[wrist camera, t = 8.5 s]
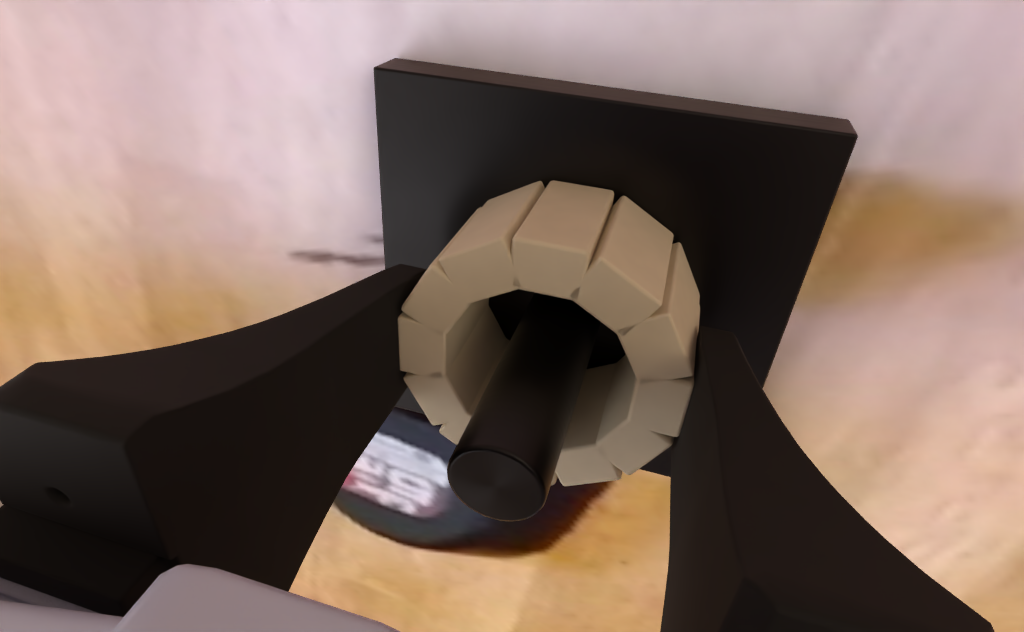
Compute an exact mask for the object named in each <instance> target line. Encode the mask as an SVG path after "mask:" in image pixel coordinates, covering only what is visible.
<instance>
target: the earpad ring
mask: <svg viewBox="0 0 1024 632" xmlns="http://www.w3.org/2000/svg"><path fill="white" fill-rule="evenodd" d="M613 200H614V192H613V191H612V190H608V189H602V188H596V187H590V186H584V185H578V184H572V183H566V182H560V181H554V180H553V181H550V182H549V184H548V185H547V187H546V188H545V187H544V185H543V183H542V181H537V182H535V183H532V184H529V185H527V186H524V187H521V188H519V189H516V190H513V191H511V192H508V193H506V194H503V195H500V196H498V197H495V198H492V199H490V200H488V201H487V202H486V203H485V204H484V205H483V207H480V208H478V209H477V210H476V211H475V212H474V214H473V215H472V216H471V217H470V218H469V220H468V221H467V222H466V223H465V224H464V225H463V227H462V228H461V229H460V230H459V231H458V233H457V234H456V235H455V236H454V237H453V238H452V240H451V241H450V242H449V243H448V244H447V246H446V247H445V248H444V249H443V250H442V251H441V253H440V254H439V255H438V256H437V257H436V259H435V260H434V261H433V262H432V263H431V265H430V266H429V267H428V269H427V270H426V272H425V273H424V274H423V276H422V277H421V279H420V280H419V282H418V283H417V285H416V286H415V287H414V289H413V290H412V292H411V293H410V295H409V296H408V298H407V299H406V300H405V302H404V303H403V305H402V308H401V310H402V311H403V312H402V314H401V315H400V316H399V317H398V340H399V361H400V370H401V371H404V372H407V373H406V375H405V376H404V381H405V383H406V384H407V386H408V387H409V389H410V391H411V392H412V394H413V395H414V397H415V399H416V400H417V402H418V403H419V405H420V406H421V408H422V410H423V411H424V413H425V414H426V416H427V418H428V419H429V421H430V422H431V424H432V425H439V424H443V425H442V427H441V428H440V433H441V434H442V435H443V436H445V437H446V438H448V439H449V440H450V441H452V442H453V443H455V444H456V445H457V444H458V442H459V440H460V438H461V436H462V434H463V432H464V430H465V428H466V427H467V425H468V423H469V421H470V419H471V417H472V415H473V413H474V411H475V409H476V407H477V405H478V403H479V401H480V399H481V397H482V395H483V393H484V391H485V389H486V387H487V385H488V383H489V381H490V379H491V377H492V375H493V373H494V371H495V369H496V367H497V366H498V364H499V362H500V360H501V358H502V356H503V354H504V352H505V350H506V348H507V346H508V344H509V342H510V340H508V339H507V338H506V337H505V335H504V333H503V331H502V329H501V328H500V326H499V324H498V322H497V320H496V318H495V316H494V314H493V312H492V311H491V309H490V307H489V298H490V297H493V296H497V295H500V294H504V293H507V292H510V291H514V290H517V289H520V290H525V291H530V292H535V293H539V294H544V295H549V296H554V297H559V298H564V299H568V300H573V301H574V302H575V303H577V304H578V305H579V306H581V307H582V308H583V309H584V310H586V311H587V312H588V313H590V314H591V315H592V316H594V317H595V318H596V319H598V320H599V321H600V322H602V323H603V324H604V325H606V326H607V327H608V328H610V329H611V330H612V331H614V332H615V333H616V334H617V335H618V338H619V340H620V342H621V344H622V347H623V349H624V351H625V353H626V355H625V356H624V357H622V358H621V359H620V360H619V361H618V362H617V363H613V364H609V365H604V366H599V367H595V368H590V369H586V372H585V376H584V379H583V382H582V385H581V388H580V392H579V395H578V398H577V401H576V405H575V408H574V411H573V414H572V418H571V421H570V424H569V427H568V430H567V434H566V437H565V440H564V443H563V447H562V450H561V453H560V456H559V459H558V463H557V466H556V469H555V472H554V476H553V479H552V482H551V485H554V484H555V483H556V480H557V477H558V478H559V480H560V481H561V483H562V485H563V486H572V485H580V484H588V483H597V482H605V481H613V480H619V479H620V478H621V475H622V471H623V472H624V473H626V474H627V475H631V474H633V473H634V472H636V471H637V470H638V469H640V468H641V467H642V466H644V465H645V464H647V463H648V462H649V461H651V460H652V459H654V458H655V457H656V456H658V455H659V454H661V453H662V452H663V451H665V450H666V449H668V448H669V447H670V446H671V445H672V444H673V439H674V437H678V436H679V435H680V432H681V428H682V425H683V422H684V418H685V415H686V411H687V408H688V405H689V401H690V398H691V395H692V391H693V388H694V368H695V354H696V341H697V335H698V332H699V318H700V305H699V300H700V294H699V291H698V288H697V285H696V283H695V280H694V277H693V275H692V272H691V269H690V267H689V264H688V261H687V258H686V256H685V253H684V250H683V248H682V245H681V243H680V242H677V243H674V244H672V243H673V237H674V235H673V233H672V232H671V231H669V230H668V229H667V228H665V227H664V226H663V225H662V224H660V223H659V222H658V221H657V220H655V219H654V218H653V217H652V216H650V215H649V214H648V213H646V212H645V211H644V210H643V209H641V208H640V207H639V206H638V205H636V204H635V203H634V202H632V201H631V200H630V199H629V198H627V197H626V196H622V197H620V198H619V200H618V201H617V202H616V203H615V204H614V205H613Z"/></svg>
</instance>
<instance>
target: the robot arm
mask: <svg viewBox="0 0 1024 632" xmlns="http://www.w3.org/2000/svg"><path fill="white" fill-rule="evenodd" d="M426 270H427V269H423V268H418V267H413V266H409V265H404V264H398V265H395V266H392V267H390V268H387V269H385V270H383V271H381V272H378V273H376V274H374V275H372V276H370V277H367V278H365V279H363V280H361V281H359V282H357V283H354V284H352V285H350V286H348V287H346V288H344V289H341V290H339V291H337V292H335V293H333V294H330V295H328V296H326V297H324V298H321V299H319V300H317V301H314V302H312V303H309V304H307V305H304V306H302V307H299V308H297V309H295V310H292V311H290V312H287V313H285V314H282V315H280V316H277V317H274V318H271V319H268V320H266V321H263V322H260V323H257V324H253V325H250V326H247V327H244V328H241V329H237V330H234V331H231V332H227V333H223V334H219V335H215V336H211V337H207V338H203V339H198V340H194V341H190V342H186V343H182V344H177V345H172V346H167V347H162V348H156V349H151V350H145V351H139V352H132V353H126V354H119V355H112V356H104V357H94V358H84V359H74V360H64V361H53V362H40V363H35V364H34V365H32V366H30V367H29V368H27V369H26V370H24V371H23V372H21V373H20V374H18V375H17V376H15V377H14V378H13V379H11V380H10V381H8V382H7V383H5V384H4V385H2V386H1V387H0V501H1V502H2V504H4V505H3V506H2V507H1V508H0V632H400V631H398V630H396V629H394V628H391V627H389V626H387V625H385V624H383V623H381V622H378V621H375V620H372V619H369V618H366V617H363V616H360V615H357V614H354V613H351V612H348V611H345V610H342V609H339V608H336V607H333V606H330V605H326V604H323V603H320V602H317V601H314V600H311V599H308V598H305V597H302V596H299V595H296V594H293V593H290V592H288V591H289V589H290V587H291V585H292V583H293V581H294V579H295V577H296V575H297V572H298V570H299V568H300V566H301V564H302V562H303V560H304V558H305V556H306V554H307V552H308V550H309V548H310V546H311V544H312V542H313V540H314V538H315V536H316V534H317V532H318V530H319V528H320V526H321V524H322V522H323V520H324V518H325V516H326V514H327V512H328V511H329V509H330V507H331V505H332V503H333V501H334V499H335V498H336V496H337V494H338V492H339V490H340V488H341V486H342V485H343V483H344V481H345V479H346V477H347V476H348V474H349V472H350V471H351V469H352V468H353V466H354V465H355V463H356V461H357V460H358V458H359V457H360V455H361V454H362V453H363V451H364V450H365V448H366V447H367V445H368V444H369V443H370V441H371V440H372V438H373V437H374V435H375V434H376V432H377V431H378V430H379V428H380V427H381V425H382V424H383V422H384V421H385V420H386V418H387V417H388V415H389V414H390V412H391V411H392V409H393V408H394V407H395V405H396V404H397V402H398V401H399V399H400V398H401V396H402V395H403V393H404V392H405V390H406V389H407V387H408V386H407V384H406V383H405V381H404V376H405V375H406V373H407V372H404V371H401V370H400V361H399V340H398V317H399V316H400V315H401V314H402V312H403V311H402V310H401V308H402V305H403V303H404V302H405V300H406V299H407V298H408V296H409V295H410V293H411V292H412V290H413V289H414V287H415V286H416V285H417V283H418V282H419V280H420V279H421V277H422V276H423V274H424V273H425V272H426ZM660 632H994V630H993V627H992V625H991V623H990V622H988V621H987V620H986V619H984V618H983V617H982V616H980V615H979V614H978V613H976V612H975V611H974V610H973V609H971V608H970V607H969V606H967V605H966V604H965V603H963V602H962V601H961V600H959V599H958V598H957V597H955V596H954V595H953V594H952V593H950V592H949V591H948V590H946V589H945V588H944V587H942V586H941V585H940V584H938V583H937V582H936V581H935V580H933V579H932V578H931V577H929V576H928V575H927V574H926V573H924V572H923V571H922V570H921V569H919V568H918V567H917V566H916V565H915V564H914V563H913V562H911V561H910V560H909V559H908V558H907V557H906V556H904V555H903V554H902V553H901V552H900V551H899V550H898V549H896V548H895V547H894V546H893V545H892V544H891V543H889V542H888V541H887V540H886V539H885V538H884V537H883V536H882V535H881V534H880V533H879V532H877V531H876V530H875V529H874V528H873V527H872V526H871V525H870V524H869V523H868V522H867V521H866V520H865V519H864V518H863V517H862V516H861V515H860V514H859V513H858V512H857V511H856V510H855V509H854V508H853V507H852V506H851V505H850V504H849V503H848V502H847V501H846V500H845V499H844V498H843V497H842V496H841V495H840V494H839V493H838V492H837V490H836V489H835V488H834V487H833V486H832V485H831V484H830V483H829V482H828V481H827V479H826V478H825V477H824V476H823V475H822V474H821V472H820V471H819V470H818V469H817V467H816V466H815V465H814V464H813V463H812V461H811V460H810V459H809V458H808V457H807V455H806V454H805V453H804V452H803V450H802V449H801V448H800V446H799V445H798V444H797V442H796V441H795V440H794V438H793V437H792V435H791V434H790V432H789V431H788V429H787V428H786V426H785V425H784V424H783V422H782V420H781V419H780V417H779V416H778V414H777V413H776V411H775V409H774V408H773V406H772V404H771V403H770V401H769V399H768V398H767V396H766V394H765V392H764V391H763V389H762V387H761V386H760V384H759V382H758V380H757V378H756V376H755V375H754V373H753V371H752V369H751V367H750V365H749V363H748V361H747V359H746V357H745V355H744V353H743V351H742V348H741V346H740V344H739V342H738V340H737V338H736V336H735V335H734V333H733V332H729V331H724V330H720V329H715V328H710V327H705V326H700V328H699V332H698V335H697V341H696V354H695V368H694V388H693V391H692V395H691V398H690V401H689V405H688V408H687V411H686V415H685V418H684V422H683V425H682V428H681V432H680V435H679V436H678V437H674V439H673V444H672V448H671V494H670V549H669V565H668V575H667V583H666V592H665V600H664V608H663V616H662V624H661V631H660Z"/></svg>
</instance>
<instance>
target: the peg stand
mask: <svg viewBox="0 0 1024 632" xmlns="http://www.w3.org/2000/svg"><path fill="white" fill-rule="evenodd" d="M374 82H375V100H376V117H377V134H378V151H379V169H380V186H381V203H382V220H383V238H384V255H385V269H387V268H390V267H392V266H395V265H398V264H404V265H409V266H413V267H418V268H423V269H428V267H429V266H430V265H431V263H432V262H433V261H434V260H435V259H436V257H437V256H438V255H439V254H440V253H441V251H442V250H443V249H444V248H445V247H446V246H447V244H448V243H449V242H450V241H451V240H452V238H453V237H454V236H455V235H456V234H457V233H458V231H459V230H460V229H461V228H462V227H463V225H464V224H465V223H466V222H467V221H468V220H469V218H470V217H471V216H472V215H473V214H474V212H475V211H476V210H477V209H478V208H480V207H483V205H484V204H485V203H486V202H487V201H488V200H490V199H492V198H495V197H498V196H500V195H503V194H506V193H508V192H511V191H513V190H516V189H519V188H521V187H524V186H527V185H529V184H532V183H535V182H537V181H542V183H543V185H544V187H545V188H546V187H547V185H548V184H549V182H550V181H553V180H554V181H560V182H566V183H572V184H578V185H584V186H590V187H596V188H602V189H608V190H612V191H613V192H614V200H613V205H614V204H615V203H616V202H617V201H618V200H619V198H620V197H622V196H626V197H627V198H629V199H630V200H631V201H632V202H634V203H635V204H636V205H638V206H639V207H640V208H641V209H643V210H644V211H645V212H646V213H648V214H649V215H650V216H652V217H653V218H654V219H655V220H657V221H658V222H659V223H660V224H662V225H663V226H664V227H665V228H667V229H668V230H669V231H671V232H672V233H673V235H674V237H673V243H672V244H674V243H677V242H680V243H681V245H682V248H683V250H684V253H685V256H686V258H687V261H688V264H689V267H690V269H691V272H692V275H693V277H694V280H695V283H696V285H697V288H698V291H699V294H700V300H699V305H700V318H699V328H700V326H705V327H710V328H715V329H720V330H724V331H729V332H733V333H734V335H735V336H736V338H737V340H738V342H739V344H740V346H741V348H742V351H743V353H744V355H745V357H746V359H747V361H748V363H749V365H750V367H751V369H752V371H753V373H754V375H755V376H756V378H757V380H758V382H759V384H760V386H761V387H762V389H763V386H764V383H765V381H766V378H767V376H768V373H769V370H770V368H771V365H772V362H773V360H774V357H775V354H776V352H777V349H778V346H779V344H780V341H781V339H782V336H783V333H784V331H785V328H786V325H787V323H788V320H789V317H790V315H791V312H792V309H793V307H794V304H795V302H796V299H797V296H798V294H799V291H800V288H801V286H802V283H803V280H804V278H805V275H806V272H807V270H808V267H809V265H810V262H811V259H812V257H813V254H814V251H815V249H816V246H817V243H818V241H819V238H820V235H821V233H822V230H823V228H824V225H825V222H826V220H827V217H828V214H829V212H830V209H831V206H832V204H833V201H834V198H835V196H836V193H837V191H838V188H839V185H840V183H841V180H842V177H843V175H844V172H845V169H846V167H847V164H848V161H849V159H850V156H851V153H852V151H853V148H854V146H855V143H856V140H857V138H858V135H857V133H856V131H855V130H854V128H853V126H852V125H851V123H850V121H849V120H847V119H840V118H833V117H825V116H818V115H810V114H803V113H796V112H788V111H781V110H774V109H766V108H759V107H752V106H744V105H737V104H730V103H722V102H715V101H707V100H700V99H693V98H685V97H678V96H671V95H663V94H656V93H649V92H641V91H634V90H626V89H619V88H612V87H604V86H597V85H590V84H582V83H575V82H568V81H560V80H553V79H546V78H538V77H531V76H523V75H516V74H509V73H501V72H494V71H487V70H479V69H472V68H465V67H457V66H450V65H442V64H435V63H428V62H420V61H413V60H406V59H398V58H395V59H392V60H390V61H388V62H385V63H383V64H381V65H378V66H376V67H374ZM489 307H490V309H491V311H492V312H493V314H494V316H495V318H496V320H497V322H498V324H499V326H500V328H501V329H502V331H503V333H504V335H505V337H506V338H507V339H508V340H510V342H509V344H508V346H507V348H506V350H505V352H504V354H503V356H502V358H501V360H500V362H499V364H498V366H497V367H496V369H495V371H494V373H493V375H492V377H491V379H490V381H489V383H488V385H487V387H486V389H485V391H484V393H483V395H482V397H481V399H480V401H479V403H478V405H477V407H476V409H475V411H474V413H473V415H472V417H471V419H470V421H469V423H468V425H467V427H466V428H465V430H464V432H463V434H462V436H461V438H460V440H459V442H458V444H457V446H456V448H455V450H454V452H453V454H452V456H451V458H450V460H449V463H448V468H447V474H448V480H449V483H450V486H451V488H452V490H453V491H454V493H455V494H456V496H457V497H458V498H459V499H460V500H461V501H462V502H463V503H464V504H466V505H467V506H468V507H469V508H471V509H473V510H474V511H476V512H478V513H480V514H482V515H484V516H486V517H489V518H492V519H496V520H502V521H520V520H524V519H527V518H530V517H532V516H533V515H535V514H536V513H537V512H538V511H539V510H540V509H541V508H542V507H543V506H544V504H545V501H546V498H547V495H548V492H549V489H550V485H551V482H552V479H553V476H554V472H555V469H556V466H557V463H558V459H559V456H560V453H561V450H562V447H563V443H564V440H565V437H566V434H567V430H568V427H569V424H570V421H571V418H572V414H573V411H574V408H575V405H576V401H577V398H578V395H579V392H580V388H581V385H582V382H583V379H584V376H585V372H586V369H590V368H595V367H599V366H604V365H609V364H613V363H617V362H618V361H619V360H620V359H621V358H622V357H624V356H625V355H626V353H625V351H624V349H623V347H622V344H621V342H620V340H619V338H618V335H617V334H616V333H615V332H614V331H612V330H611V329H610V328H608V327H607V326H606V325H604V324H603V323H602V322H600V321H599V320H598V319H596V318H595V317H594V316H592V315H591V314H590V313H588V312H587V311H586V310H584V309H583V308H582V307H581V306H579V305H578V304H577V303H575V302H574V301H573V300H568V299H564V298H559V297H554V296H549V295H544V294H539V293H535V292H530V291H525V290H520V289H517V290H514V291H510V292H507V293H504V294H500V295H497V296H493V297H490V298H489ZM395 407H399V408H403V409H407V410H411V411H415V412H419V413H423V414H425V413H424V411H423V410H422V408H421V406H420V405H419V403H418V402H417V400H416V399H415V397H414V395H413V394H412V392H411V391H410V389H409V387H407V389H406V390H405V392H404V393H403V395H402V396H401V398H400V399H399V401H398V402H397V404H396V405H395ZM671 448H672V445H671V446H670V447H669V448H668V449H666V450H665V451H663V452H662V453H661V454H659V455H658V456H656V457H655V458H654V459H652V460H651V461H649V462H648V463H647V464H645V465H644V466H642V467H641V468H640V469H641V470H645V471H649V472H653V473H657V474H661V475H665V476H669V477H671Z"/></svg>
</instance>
